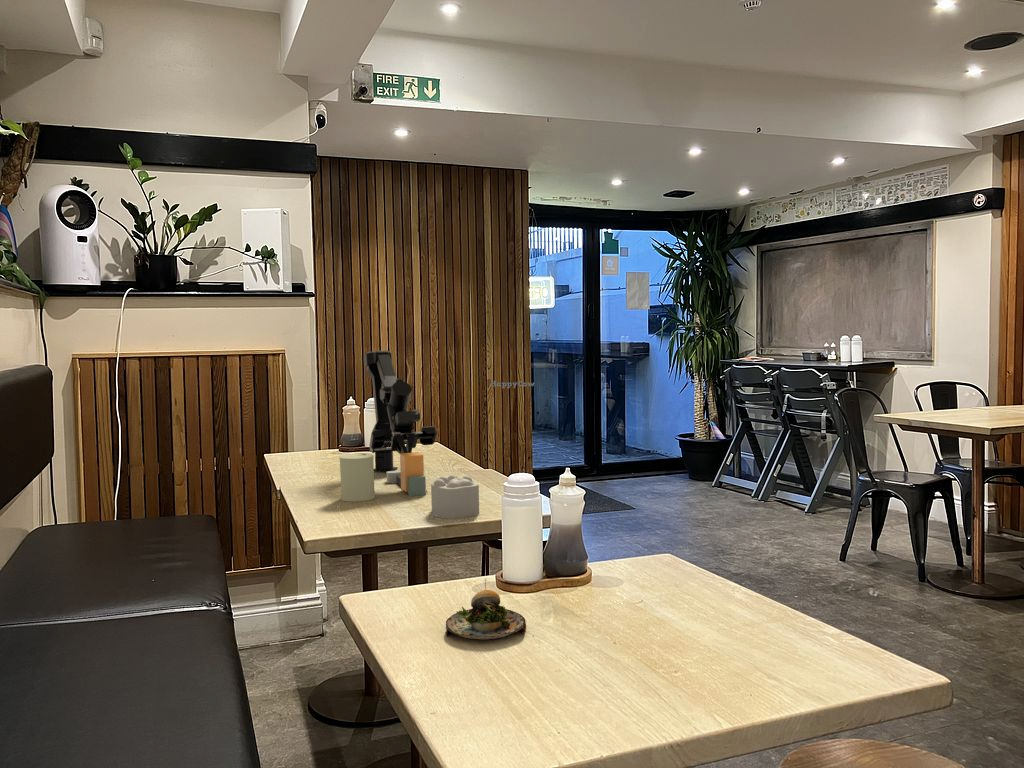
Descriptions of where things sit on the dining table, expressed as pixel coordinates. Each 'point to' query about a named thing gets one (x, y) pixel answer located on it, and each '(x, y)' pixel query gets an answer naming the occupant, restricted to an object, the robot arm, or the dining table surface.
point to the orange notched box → (410, 467)
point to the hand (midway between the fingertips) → (409, 460)
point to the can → (357, 477)
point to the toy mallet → (409, 482)
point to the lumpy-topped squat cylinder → (455, 497)
